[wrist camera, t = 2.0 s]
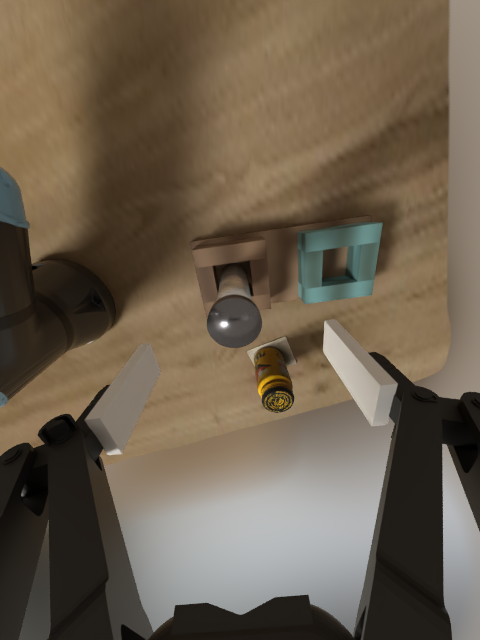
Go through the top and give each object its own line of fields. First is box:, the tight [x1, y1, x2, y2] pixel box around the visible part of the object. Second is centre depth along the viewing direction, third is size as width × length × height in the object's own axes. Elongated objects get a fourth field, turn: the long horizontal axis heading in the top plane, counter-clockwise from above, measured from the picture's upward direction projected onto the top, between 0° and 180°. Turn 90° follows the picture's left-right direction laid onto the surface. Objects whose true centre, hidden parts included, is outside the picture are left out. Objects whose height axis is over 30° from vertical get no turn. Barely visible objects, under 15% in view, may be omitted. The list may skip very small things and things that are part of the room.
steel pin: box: [207, 263, 262, 348], centre depth 27 cm, size 5×5×18 cm
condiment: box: [247, 336, 296, 413], centre depth 39 cm, size 7×8×12 cm
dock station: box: [190, 216, 383, 317], centre depth 34 cm, size 28×12×5 cm, turn 98°
